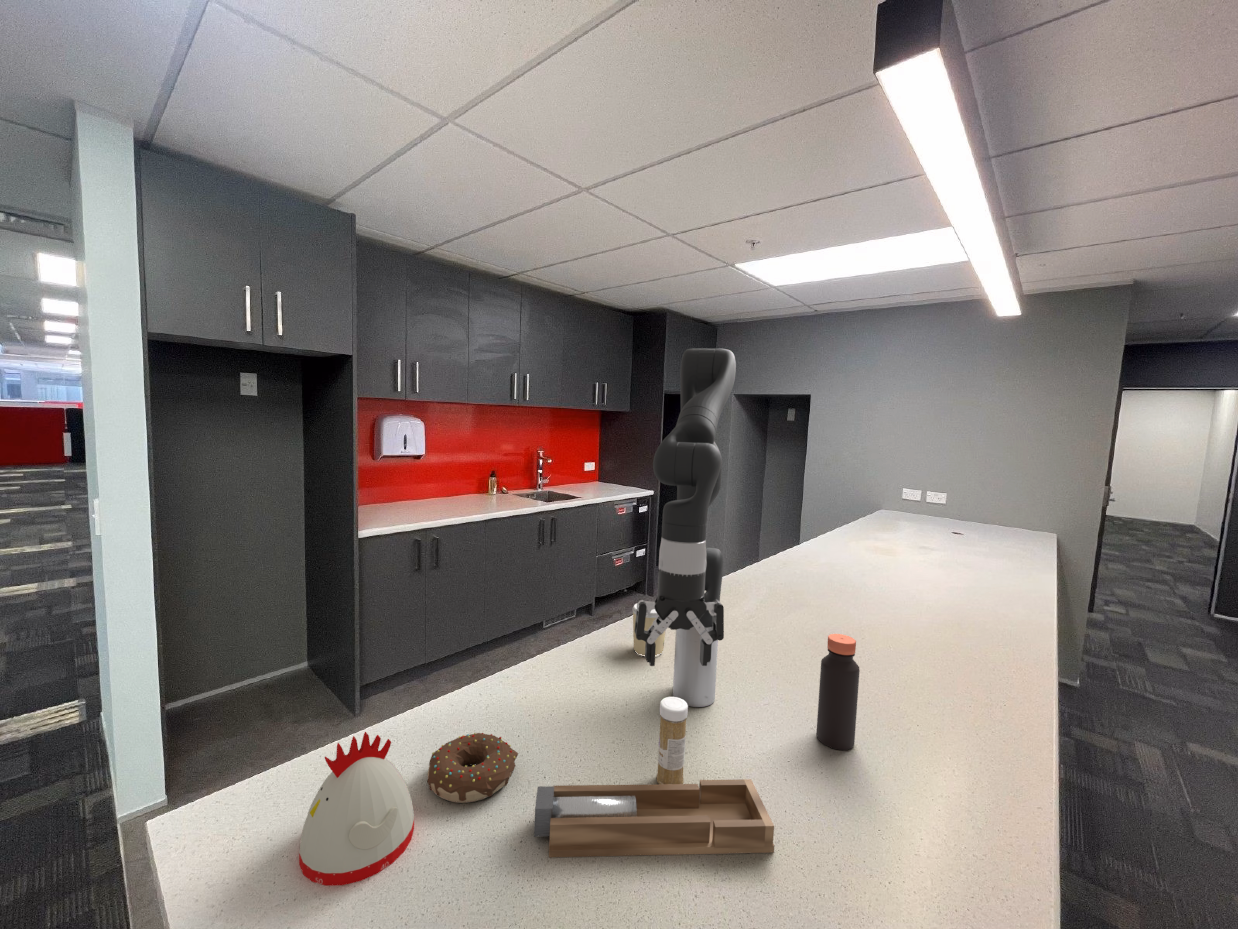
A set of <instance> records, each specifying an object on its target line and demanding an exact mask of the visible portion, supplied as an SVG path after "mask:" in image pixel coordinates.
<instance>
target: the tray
mask: <svg viewBox="0 0 1238 929" xmlns="http://www.w3.org/2000/svg"><path fill="white" fill-rule="evenodd" d="M553 786H554V797H575V796H635V797H636V808H637V817H587V818H551V820H550V836H549V844H548V846H549V849H548V858H582V857H590V858H591V857H627V856H628V857H629V856H630V857H631V856H636V857H637V856H667V855H668V856H671V855H673V856H674V855H675V856H676V855H713V854H714V855H715V854H716V855H719V854H721V855H722V854H723V855H724V854H760V853H761V854H762V853H763V854H764V853H766V854H767V853H771V854H772V853H775V844H774V836H775V835H774V833H775V832H774V831H775V825H774V823H773V820H772V819H771V817H770V815H769V812H768V811H767V809H766V806H765V805H764V803H763V800H762V798H761V796H760V794H759V793H758V790H757V788H756V786H755V784H754V782H753V780H752V778H751V779H750V778H749V779H746V778H745V779H741V778H740V779H699V784H698V783H683V784H659V783H658V784H657V783H656V784H655V783H654V784H594V785H593V784H587V785H586V784H583V785H581V784H580V785H579V784H578V785H576V784H575V785H572V784H571V785H568V784H566V785H553Z"/></svg>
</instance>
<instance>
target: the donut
mask: <svg viewBox="0 0 1238 929" xmlns="http://www.w3.org/2000/svg"><path fill="white" fill-rule="evenodd" d="M518 756H519V752H518V751H516V750H514V749H513V748H512V745H511V744H509V743H508V741H506V742H505V740H503V738H502V736H499V737H498V736H496V735H495V734H494V735H493V734H492V733H491V734H487V733H484V732H477V733H476V732H474V733H472V734H468V733H467V734H466V735H464V734H463V735H461V736H458V737H457V738H454V739H452V740H450V741H447V742H446V743H444V744H441V745H440V748H438V749H437V750H435V751H434V752H432V753H431V756H430V759H429V764H428V771H427V774H426V775H427V781H426V782H427V784H428V790H430V791H433V793H434V794H435V795H436V796H438V797H440V798H441V799H443V800H445V801H448V802H451V803H459V804H466V803H474V802H479V801H482V800H484V799H486V798H490V797H491V798H492V797H493V795H494V794H495V793H497V792H498V791H499V790H501V789H502V788H503V787H506V786H507V785H508V783H509V781H510V778H511V777H512V775H513V773H514V770H515V768H516V762H515V761H516V759H517V757H518Z"/></svg>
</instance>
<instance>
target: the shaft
mask: <svg viewBox="0 0 1238 929" xmlns="http://www.w3.org/2000/svg"><path fill="white" fill-rule="evenodd" d="M554 786H555V785H552V786H545V785H543V786H537V790H536V799H535V806H534V826H533V827H534V831H533V837H550V820H551V818H587V817H637V808H636V797H635V796H575V797H554Z"/></svg>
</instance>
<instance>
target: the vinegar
mask: <svg viewBox="0 0 1238 929" xmlns="http://www.w3.org/2000/svg"><path fill="white" fill-rule="evenodd" d="M856 645H857V640H856V639H855V638H853V637H851V636H849V635H846V634H842V633H831V634H829V635H827V651H828V654H827V655H825V656H824V657H823V658H822V659H821V661H820V672H819V673H820V674H819V688H818V690H819V691H818V704H817V718H816V737H817V739H818V740H819V741H820V742H821V744H823V745H824V746H826V747H828V748H830V749H834V750H837V751H848V750H850V749H852V748H853V747H854V745H855V743H856V741H855V740H856V728H857V715H858V714H857V713H858V712H857V711H858V698H859V696H858V695H859V683H860V666H859V664H858V663H857V662H856V661H855V660H854V657H855V655H856V649H857V648H856Z"/></svg>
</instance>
